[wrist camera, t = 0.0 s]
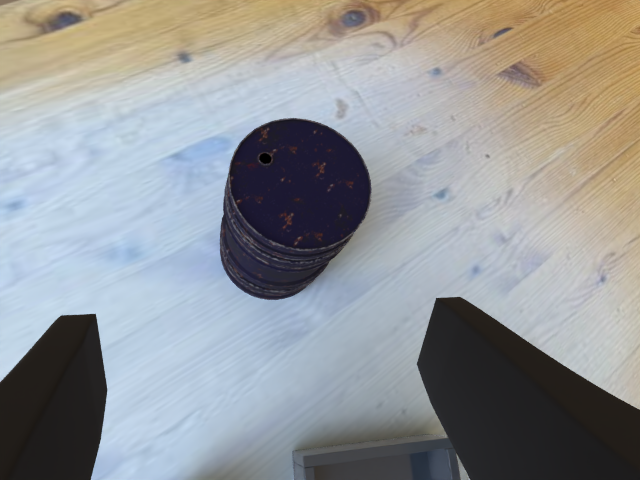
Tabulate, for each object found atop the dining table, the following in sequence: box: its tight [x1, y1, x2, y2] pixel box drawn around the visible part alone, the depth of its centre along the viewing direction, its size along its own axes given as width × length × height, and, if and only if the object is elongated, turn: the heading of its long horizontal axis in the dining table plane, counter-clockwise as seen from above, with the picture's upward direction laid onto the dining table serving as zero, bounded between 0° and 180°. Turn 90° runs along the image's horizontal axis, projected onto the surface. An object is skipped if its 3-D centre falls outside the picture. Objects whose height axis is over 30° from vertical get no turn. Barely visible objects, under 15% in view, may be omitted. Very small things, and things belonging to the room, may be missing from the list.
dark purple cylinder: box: [220, 118, 371, 300], centre depth 38 cm, size 10×10×15 cm
